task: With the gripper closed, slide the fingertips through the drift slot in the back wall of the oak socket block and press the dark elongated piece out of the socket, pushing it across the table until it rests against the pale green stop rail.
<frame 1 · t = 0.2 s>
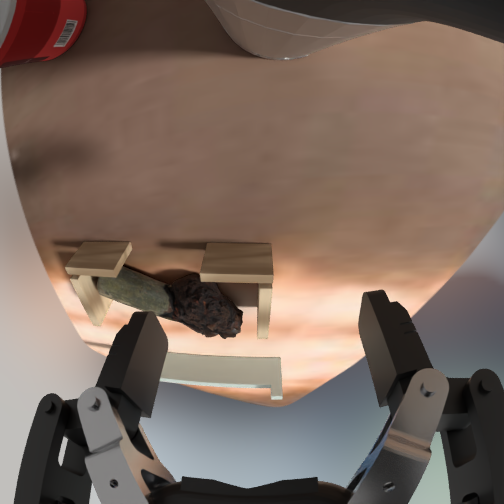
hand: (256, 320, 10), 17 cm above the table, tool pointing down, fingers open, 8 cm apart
canned food: (60, 25, 14), on the table
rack: (193, 356, 42), on the table
dark elongated piece: (177, 283, 33), on the table
socket block: (173, 275, 32), on the table
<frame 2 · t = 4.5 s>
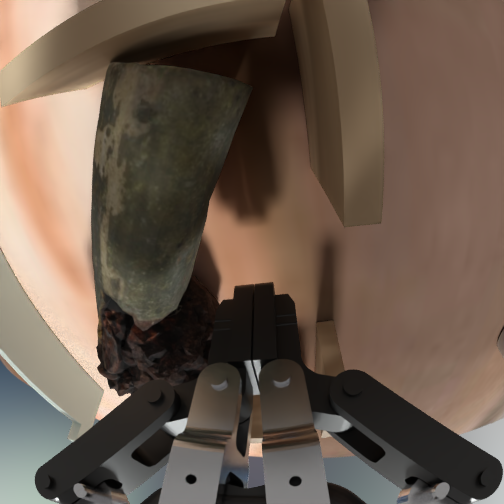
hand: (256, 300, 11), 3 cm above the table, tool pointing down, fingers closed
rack: (18, 288, 15), on the table
dark elongated piece: (171, 258, 14), on the table, touching gripper
socket block: (239, 268, 13), on the table
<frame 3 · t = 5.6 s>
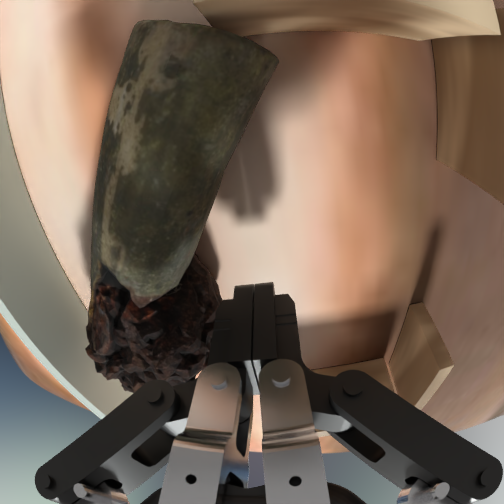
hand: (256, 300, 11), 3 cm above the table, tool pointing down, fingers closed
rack: (63, 282, 15), on the table
dark elongated piece: (171, 236, 13), on the table, touching gripper
socket block: (362, 250, 13), on the table
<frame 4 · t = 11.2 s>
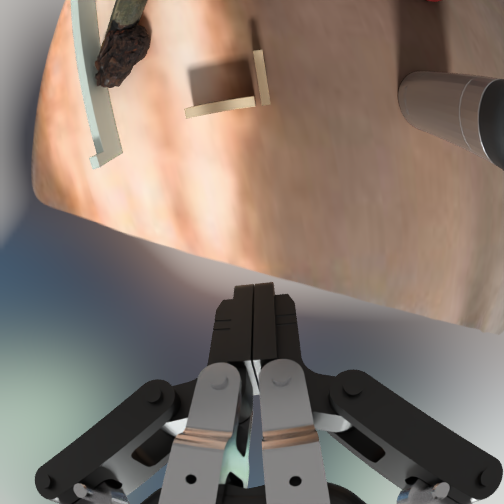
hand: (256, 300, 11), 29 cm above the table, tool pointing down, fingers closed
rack: (100, 68, 28), on the table
dark elongated piece: (135, 30, 26), on the table
socket block: (219, 30, 26), on the table
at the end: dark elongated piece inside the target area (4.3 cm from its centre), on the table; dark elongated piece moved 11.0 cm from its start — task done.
